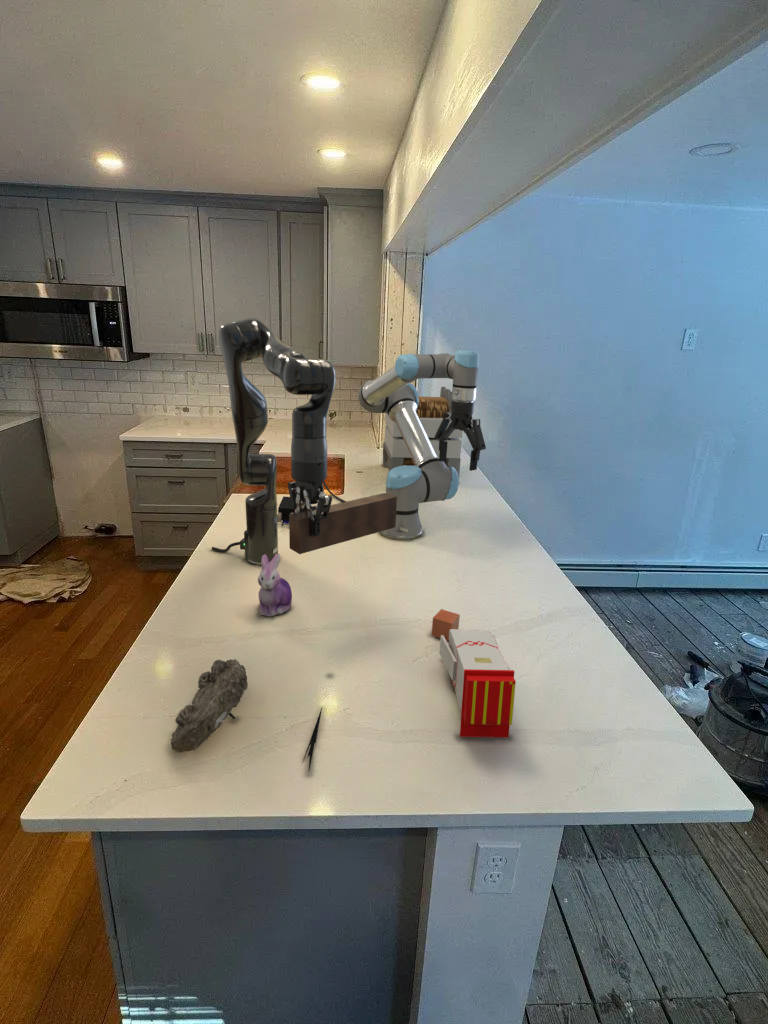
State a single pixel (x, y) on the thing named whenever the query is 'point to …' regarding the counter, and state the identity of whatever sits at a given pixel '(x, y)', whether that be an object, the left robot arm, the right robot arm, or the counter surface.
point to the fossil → (210, 704)
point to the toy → (479, 682)
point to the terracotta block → (444, 623)
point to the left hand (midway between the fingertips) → (309, 532)
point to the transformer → (430, 418)
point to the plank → (344, 522)
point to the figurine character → (285, 510)
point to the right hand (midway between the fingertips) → (457, 465)
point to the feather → (313, 740)
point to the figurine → (273, 588)
